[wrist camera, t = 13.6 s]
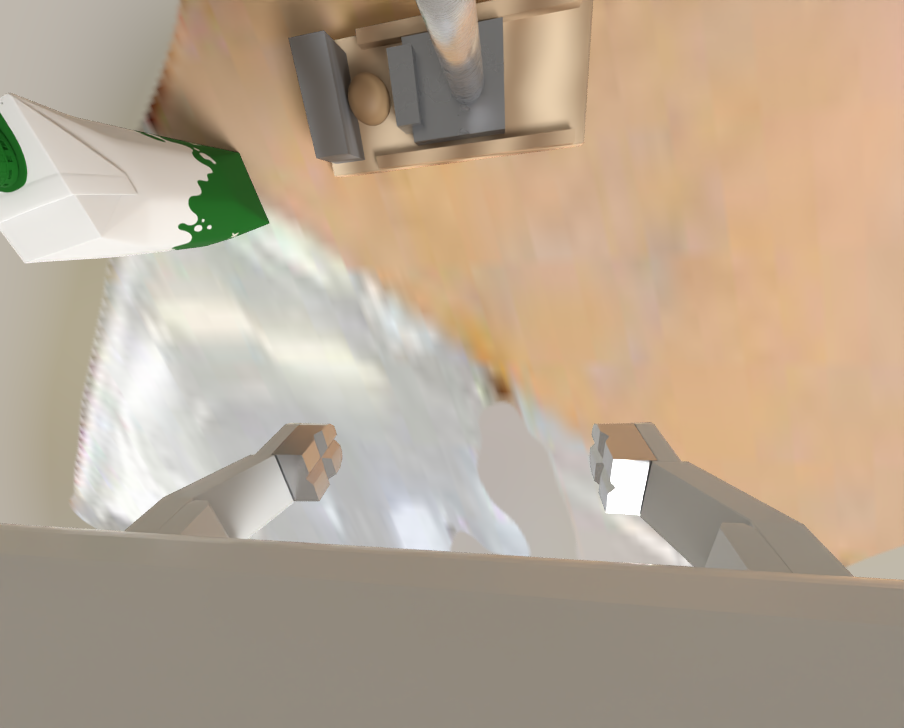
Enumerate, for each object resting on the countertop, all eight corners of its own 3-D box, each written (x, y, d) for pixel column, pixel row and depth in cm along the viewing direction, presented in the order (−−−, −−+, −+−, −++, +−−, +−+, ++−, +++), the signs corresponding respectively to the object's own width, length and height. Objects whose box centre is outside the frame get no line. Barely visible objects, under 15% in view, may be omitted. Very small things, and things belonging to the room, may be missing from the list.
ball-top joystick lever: (502, 28, 26) (512, -418, 7) (504, 133, 29) (516, -4, 10) (395, 49, 27) (183, -284, 9) (408, 147, 30) (268, 48, 12)
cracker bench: (589, -2, 26) (610, -52, 21) (580, 145, 30) (596, 133, 25) (315, 53, 30) (278, 21, 25) (341, 177, 34) (314, 171, 29)
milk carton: (242, 140, 33) (-52, 58, 16) (280, 231, 37) (77, 250, 19) (176, 164, 35) (-152, 118, 17) (219, 249, 39) (-18, 281, 21)
